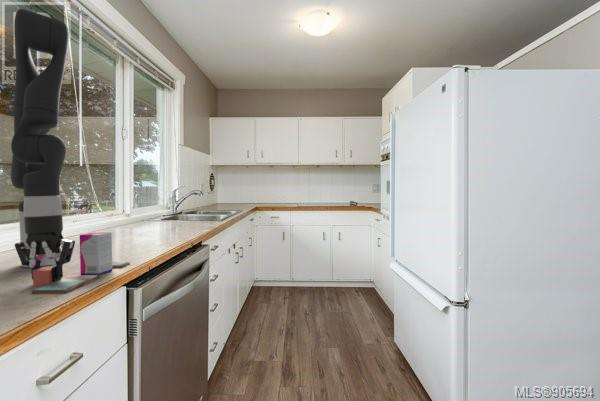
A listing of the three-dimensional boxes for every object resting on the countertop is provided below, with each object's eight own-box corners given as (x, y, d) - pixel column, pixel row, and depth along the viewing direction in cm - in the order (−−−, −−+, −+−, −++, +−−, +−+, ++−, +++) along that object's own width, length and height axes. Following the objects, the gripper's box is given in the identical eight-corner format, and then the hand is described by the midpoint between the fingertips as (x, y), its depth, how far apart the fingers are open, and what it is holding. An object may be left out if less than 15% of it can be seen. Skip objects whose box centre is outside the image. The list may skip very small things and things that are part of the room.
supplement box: (113, 270, 94) (112, 231, 94) (98, 276, 88) (97, 234, 88) (95, 269, 95) (94, 231, 94) (79, 275, 89) (78, 234, 88)
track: (66, 293, 74) (66, 289, 74) (31, 293, 74) (31, 290, 74) (129, 263, 102) (129, 261, 102) (104, 264, 102) (104, 261, 102)
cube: (49, 286, 79) (48, 270, 79) (33, 286, 79) (32, 270, 79) (61, 281, 83) (60, 266, 83) (45, 281, 83) (45, 266, 83)
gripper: (81, 212, 84) (85, 276, 85) (27, 213, 84) (31, 277, 85) (60, 214, 77) (64, 284, 77) (1, 216, 77) (5, 286, 77)
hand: (47, 280), depth 81 cm, fingers closed on cube, 4 cm apart
